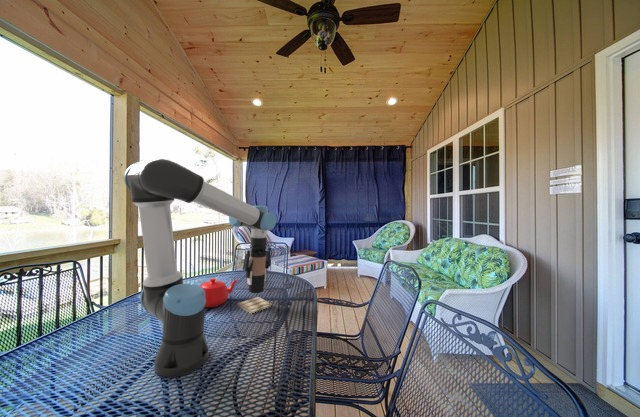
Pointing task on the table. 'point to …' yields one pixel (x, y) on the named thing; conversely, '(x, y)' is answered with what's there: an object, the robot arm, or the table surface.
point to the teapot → (216, 292)
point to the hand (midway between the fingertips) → (256, 282)
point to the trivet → (254, 305)
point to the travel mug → (258, 271)
